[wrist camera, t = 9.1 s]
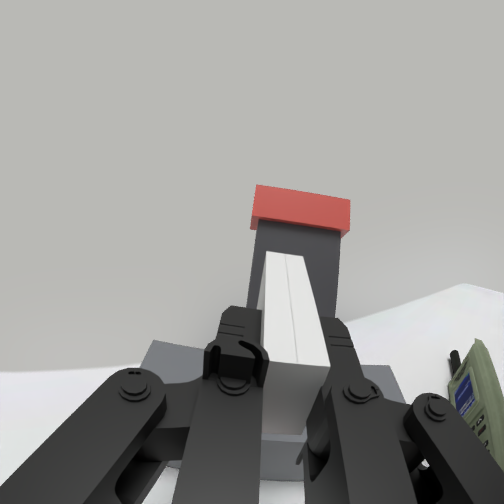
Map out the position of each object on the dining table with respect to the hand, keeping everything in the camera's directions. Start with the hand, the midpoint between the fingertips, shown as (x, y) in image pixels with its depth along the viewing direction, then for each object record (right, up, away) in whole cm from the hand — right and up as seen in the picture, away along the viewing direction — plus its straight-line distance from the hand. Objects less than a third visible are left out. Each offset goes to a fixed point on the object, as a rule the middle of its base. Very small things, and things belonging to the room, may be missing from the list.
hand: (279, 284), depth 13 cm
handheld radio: (+21, -17, +10) cm, 29 cm away
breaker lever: (+1, -9, +7) cm, 11 cm away
